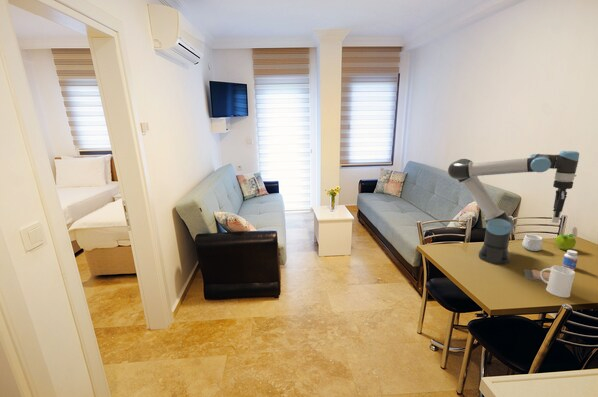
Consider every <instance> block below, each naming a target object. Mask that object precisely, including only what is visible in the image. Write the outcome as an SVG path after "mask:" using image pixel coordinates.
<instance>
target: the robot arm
mask: <svg viewBox="0 0 598 397" xmlns="http://www.w3.org/2000/svg"><path fill="white" fill-rule="evenodd" d="M579 159H580V152H578V151H575V150H561V151H560V152H559V154H548V153H547V154H541V153H534V154H533V153H532V154H530V155H529V157H527V158H517V159H504V160H495V161H484V162H473V161H472V160H471V159H468V158H461V159H459V160H458V159H457V160H456V161H454V162H452V163H450V165H449V166H448V168H447V172H448V175H449V177H450V178H452V179H453V180H457V181H458V182H459V183H460V184H462V185H464V187H465V189H467V191H468V192H469V194H470V196H471V198H472V199H473V200H474V201H475V203H476V204H477V207H479V209H480V210H481V212H482V214H483V215H484V221H485V223H486V225H485V233H484V234H485V235H484V241H483V245H482V247H481V249H480V250H479V252H478V257H479V259H481V260H482V261H484V262H487V263H490V264H494V265H507V264H509V263H510V254H509V249H508V247H509V243H510V242H509V241H510V237H511V234H512V233H513V231H514V228H515V222H514V220H513V218H511V217H510V216H508V215H507V213H506V212H505V211H504V210H501V209H500V208H499V206H498V205H497V204H496V202H495V201H494V199H493V197H492V196H491V195H490V194H489V192H488V191H487V189H486V187H485V186H484V185H483V183H482V182H481V180H480V179H479V177H480V176H481V177H482V176H483V177H484V176H492V175H494V176H495V175H509V174H521V173H544V172H546V171H549V170H550V169H552V170H556V171H555V173H554V181H553V185H552V186H553V188H556V189H557V190H555V197H554V203H553V209H552V211H553V212H552V216H551V217H552V218H551V223H555V224H559V223H560V218H561V213H562V212H563V209H564V205H565V203H566V202H565V201H566V198H567V195H568V192H567V190H571V189H572V188H573V186H574V180H575V177H577V175H576V172H577V168H578V164H579Z"/></svg>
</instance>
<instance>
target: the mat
mask: <svg viewBox="0 0 598 397" xmlns="http://www.w3.org/2000/svg"><path fill="white" fill-rule="evenodd" d="M523 271H524V278H525V279H527V280H532V281H537V282H541V283H545V282H544V281H543V280H539V279H535V278H533V277H532V269H531V270H530V269H525V268H524V269H523Z"/></svg>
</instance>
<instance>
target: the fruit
mask: <svg viewBox="0 0 598 397" xmlns="http://www.w3.org/2000/svg"><path fill="white" fill-rule="evenodd" d="M575 236H576V235H575V234H572V233H569V235H568V234H559V235H557V236H556V237H555V240H554V242H555V244H556V246H557V248H558V249H561V250H563V251H567V250H573V248H574V247H575V246H576V244H577V240H576V239H575Z"/></svg>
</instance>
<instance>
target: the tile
mask: <svg viewBox="0 0 598 397" xmlns="http://www.w3.org/2000/svg"><path fill="white" fill-rule="evenodd" d="M531 271H532V277H533V278H535V279H539V280H542V279H541V277H540V273H541V271H542V270H536V269H531ZM541 275H542V277H543V279H544V280H546V281H549V276H550V272H546V271H543V272H542V274H541Z"/></svg>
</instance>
